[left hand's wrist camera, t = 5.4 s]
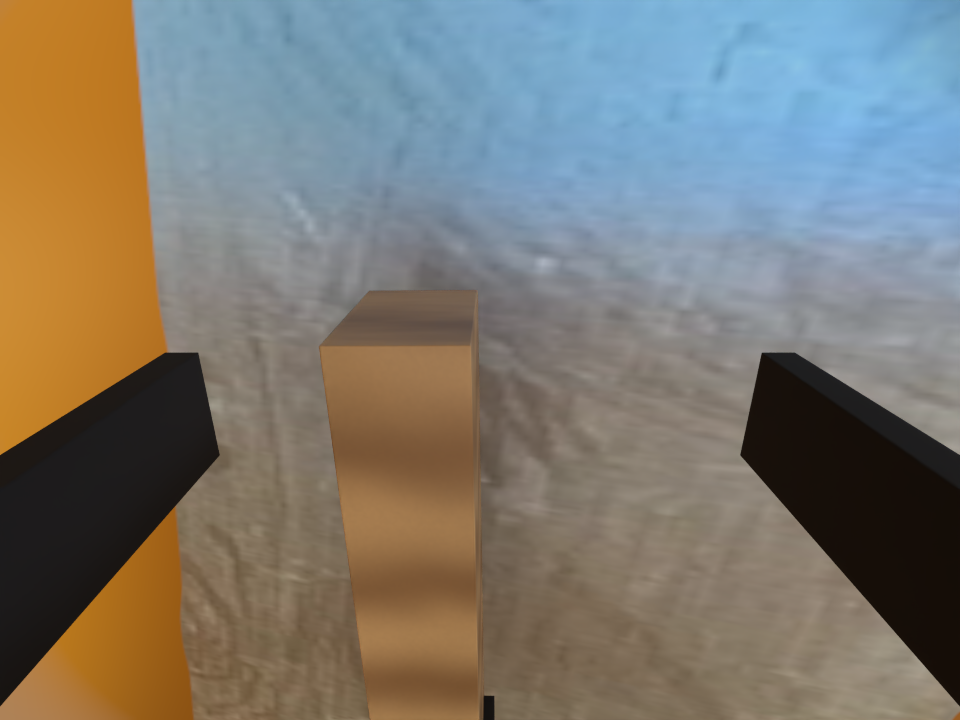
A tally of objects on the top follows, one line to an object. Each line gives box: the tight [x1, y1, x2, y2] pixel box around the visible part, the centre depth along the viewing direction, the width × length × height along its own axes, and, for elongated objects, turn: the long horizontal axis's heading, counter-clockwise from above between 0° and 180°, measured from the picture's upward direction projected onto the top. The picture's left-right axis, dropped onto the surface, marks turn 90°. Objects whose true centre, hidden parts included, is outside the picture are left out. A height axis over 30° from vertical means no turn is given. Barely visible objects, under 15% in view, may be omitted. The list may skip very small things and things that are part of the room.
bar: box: [319, 290, 484, 720], centre depth 29 cm, size 34×6×8 cm, turn 1°
